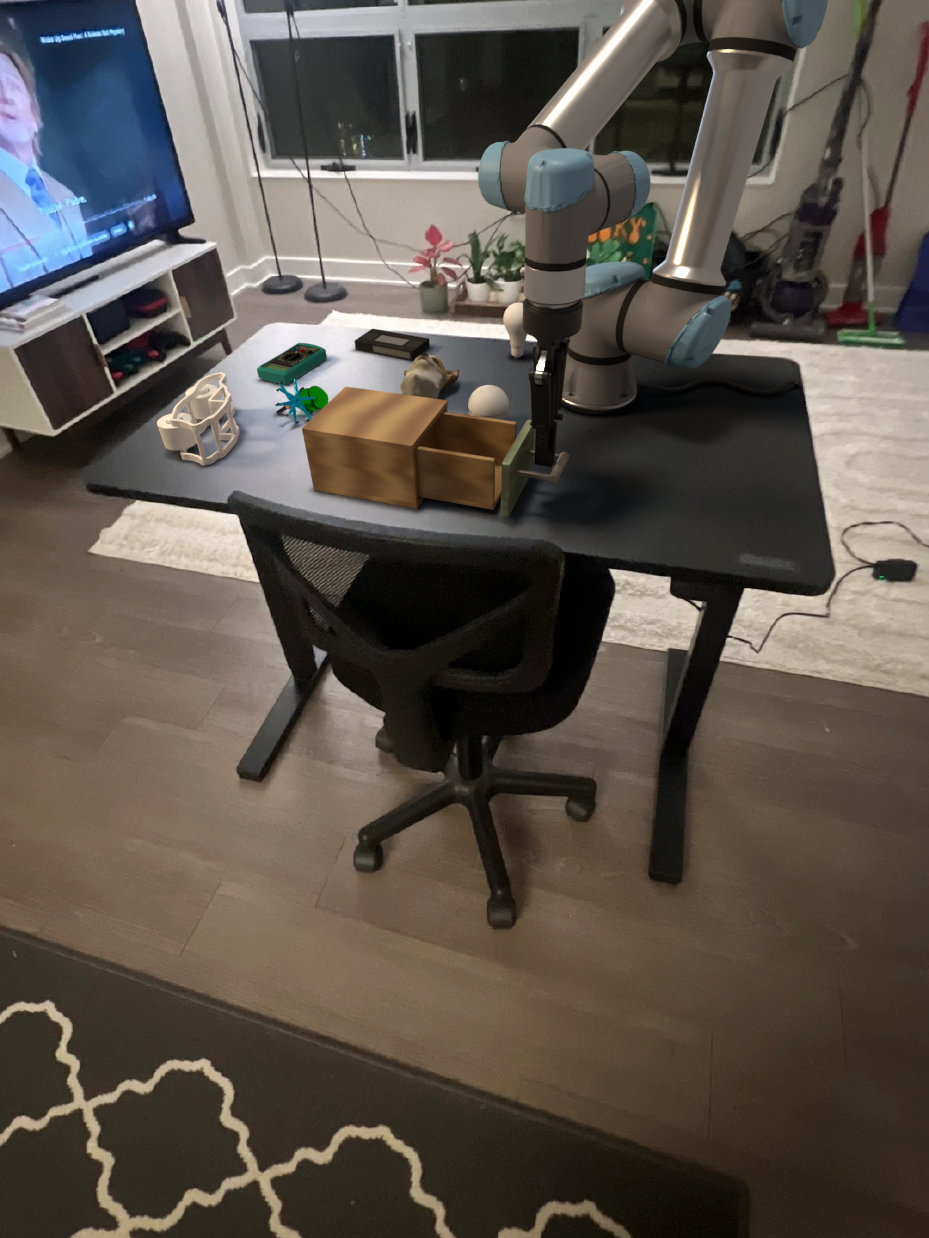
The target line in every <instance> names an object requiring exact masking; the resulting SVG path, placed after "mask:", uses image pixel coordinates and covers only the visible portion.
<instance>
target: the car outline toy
mask: <svg viewBox="0 0 929 1238" xmlns="http://www.w3.org/2000/svg"><path fill="white" fill-rule="evenodd" d="M215 381H218V385H219V387H217V385H214V384H210V383H213V382H215ZM227 382H228V380H227V376H226V373H225V372H215V373H211V374H208V375H206V376H204V377H202V378H201V379H200V380H198V381H197V382H196V383H195V384H194V386H192V387H189V388H188V389H187V390H186V391H185V396H184V397H182V398H181V399H180V400H179V401H178V402H177V404H176V405H174V407H173V409H172V411H171V413H168V414H166V415H163V416H161V417H160V418H159V419H157V421H156V425H157V428H158V431H159V433H160V437H161V440H162V442H163V446H164V448H166V449H167V450H169V451H180V452H179V453H180V457H181V459H182V461H191V462H194V463H198V464H200V465H201V466H204V467H205V466H209V465H212V464H215V462H216V461H218V460H219V459H223V458H225V457H226V456H227V455H228V454H229V452H230V451H231V450H232V449H233V448H234V446H235V445H236V444H237V441H238V440H239V436H240V435H241V430H240V427H239V426H238V425H237V422H236V419H235V418H234V415H235V413H236V412H235V409H234V406H233V404H232V402H233V399H232V394H231V393H230V392H229V390H228V387H227ZM221 397H222V398H223V399H221ZM185 407H186V409H187V412H181V411H183V409H184V408H185ZM225 414H226V416H227V420H226V422H225V423H224V424H223V425H222V426H221V424H220V422H219V421H220V419H222V417H224V415H225ZM197 420H201V421H199V422H198V423H197ZM209 426H210V427H211V428H210V429H211V431H212V434H213V438H214V443H215V446H216V449H217V451H214V452H213V453H212V454H210V455H209V456H207V454H206V450H205V447H204V444H203V441H202V438H201V434H203V433H204V432H205V431H206V430H207V428H208V427H209ZM229 430H230V431H231V433H227V432H228V431H229ZM221 441H227V443H226V444H225V445H224V446H223V445H222V442H221ZM196 444H197V448H198V451H199V454H195V453H191V452H188V450H189V449H190V448H192V447H194V446H195V445H196Z"/></svg>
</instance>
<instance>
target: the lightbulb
mask: <svg viewBox="0 0 929 1238" xmlns="http://www.w3.org/2000/svg"><path fill="white" fill-rule="evenodd" d="M502 322H503V325H504V328H505V330H506V332H507V334H508V337H509V345H510V354H511V356H512V357H514V358H516V359H519V358H520V357H522V356H523V355H524V352H525V345H526V340H527V336H528V334H527V333H526V332H525V331H524V329H523V325H522V324H523V302H519V301H518V302H514V303H511V304H510V305H509V306H508V307H507V308H506V309H505V311H504V313H503V317H502Z"/></svg>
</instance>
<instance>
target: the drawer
mask: <svg viewBox="0 0 929 1238" xmlns="http://www.w3.org/2000/svg"><path fill="white" fill-rule="evenodd" d="M531 420H532V419H526V421H525V422H524V425H523V426H522V428H521V430H520V431H519V433H518V432H517V431H518V422H517V421H513V420H508V419H507V420H506V419H505V420H500V419H493V418H486V417H479V416H472V415H469V414H463V413H457V412H450V411H448V412H444V411H443V412H442V414H441V415H440V416H439V417H438V419H437V420H436V421H435V423H434V424H433V425H432V426H431V428H430V429H429V430H428V432H427V433H426V434H425V436H424V437H423V438H422V439H421V441H420V442H419V443H418V445H417V446H416V447H415V448H414V449H415V461H416V474H417V487H418V496H419V497H424V499H430V500H436V501H441V502H449V503H452V504H458V505H459V504H460V505H464V506H470V507H475V508H481V509H485V510H486V509H487V510H494V509H495V507H496V506H497V504H498V502H499V500H500V517H502V518H509V517H510V516H511V514H512V512H513V509H514V507H515V505H516V503H517V502H518V500H519V498H520V496H521V494H522V492H523V491H524V488H525V486H526V484H527V483H528V480H529V479H530V478H532V479H540V480H546V481H548V482H549V483H550V484H551V485H556V484H558V483H559V481H560V478H561V476H562V474H563V472H564V470H565V468H566V466H567V463H568V461H569V459H570V455H569V453H568V452H567V451H562V452H560V453H555V460H556V461H555V462H554V464H553V466H552V468H551V469H552V470H551V471H550V473H549V474H548V473H542V472H536V471H533V466H534V457H535V429H534V428H532V426H530V422H531ZM517 434H518V435H517Z"/></svg>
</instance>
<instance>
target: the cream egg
mask: <svg viewBox="0 0 929 1238" xmlns="http://www.w3.org/2000/svg"><path fill="white" fill-rule="evenodd" d="M467 403H468V404H467V406H466V409H467V411H468V415H472V416H479V417H486V418H493V419H500V420H506V419H507V417H508V415H509V410H510V400H509V398H508V396H507V394H506V392H505V391H504V390H503V389H502V388H500V387H499V386H497V385H494V384H485V385H481V386H479V387H477V388H476V389H475V390H474V391H473V392H471V395H470V396H469V399H468V402H467Z"/></svg>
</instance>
